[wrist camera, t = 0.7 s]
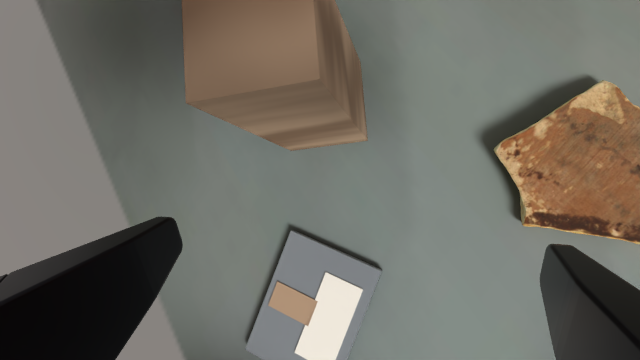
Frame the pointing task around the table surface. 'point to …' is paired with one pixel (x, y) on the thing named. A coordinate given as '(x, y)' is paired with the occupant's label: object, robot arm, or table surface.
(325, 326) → the card
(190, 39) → the walnut block
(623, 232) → the shard
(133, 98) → the table surface
